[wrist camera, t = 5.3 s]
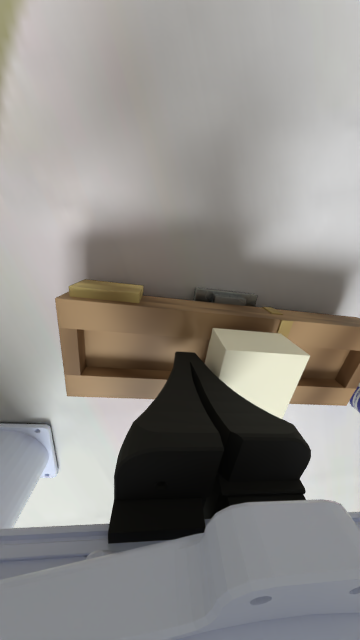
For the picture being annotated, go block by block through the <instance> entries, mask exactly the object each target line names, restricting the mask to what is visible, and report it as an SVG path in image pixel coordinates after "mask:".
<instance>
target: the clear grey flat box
mask: <svg viewBox="0 0 360 640" xmlns="http://www.w3.org/2000/svg"><path fill="white" fill-rule="evenodd" d="M257 297H258V296H257V295H255V294H250V293H241V292H232V291H223V290H214V289H205V288H195V294H194V300H193V301H201V302H211V303H221V304H231V305H241V306H250V307H255V304H256V300H257Z"/></svg>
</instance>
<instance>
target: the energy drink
mask: <svg viewBox="0 0 360 640" xmlns="http://www.w3.org/2000/svg"><path fill="white" fill-rule="evenodd" d="M349 401H350V404H351V405H352V407H354V408H355V409H356V410H357V411H358V412H360V383H359V385H358V387H357V388H356V390H355V392H354V393H353V395H352V397H351V398H350V400H349Z"/></svg>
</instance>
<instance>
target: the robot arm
mask: <svg viewBox="0 0 360 640" xmlns="http://www.w3.org/2000/svg"><path fill="white" fill-rule="evenodd" d="M310 458H311V450H310V448H309V446H308V444H307V443H306V441H305V440H304V439H303V437H302V436H301V434H300V433H299V432H298V430H297V429H296V428H295V426H294V425H293V424H291V423H289V422H287V421H285V420H283V419H281V418H278V417H276V416H274V415H272V414H270V413H268V412H267V411H265V410H263V409H261V408H259V407H258V406H256V405H254V404H253V403H251V402H249V401H248V400H246V399H245V398H243V397H242V396H240V395H239V394H238V393H236V392H235V391H233V390H232V389H231V388H230V387H228V386H227V385H226V384H225V383H224V382H222V381H221V380H220V379H219V378H218V377H217V376H216V375H215V374H214V373H213V372H212V371H211V370H210V369H209V368H208V367H207V366H206V365H205V364H204V362H203V361H202V360H201V359H200V358H199V357H198V356H197V354H196V353H194V352H179V351H177V352H176V353H175V358H174V365H173V369H172V371H171V373H170V376H169V378H168V380H167V382H166V384H165V385H164V387H163V389H162V390H161V392H160V393H159V394H158V396H157V397H156V399H155V400H154V401H153V402H152V403H151V405H150V406H149V407H148V408H147V409H146V410H145V411H144V412H143V413H142V414H141V415H140V416H139V417H138V418H137V419H136V420H135V421H134V422H133V424H132V426H131V428H130V429H129V431H128V433H127V435H126V438H125V440H124V442H123V444H122V447H121V449H120V452H119V455H118V459H117V464H116V469H115V475H114V504H113V509H112V514H111V519H110V524H94V525H73V526H52V527H31V528H13V527H14V525H15V523H16V521H17V519H18V518H19V516H20V514H21V512H22V510H23V508H24V506H25V504H26V503H27V501H28V499H29V497H30V495H31V493H32V491H33V490H34V488H35V486H36V484H37V482H38V480H39V478H53V477H56V476H57V474H58V467H57V462H56V456H55V451H54V445H53V439H52V434H51V428H50V426H49V425H46V424H0V640H360V512H347V511H346V510H345V508H344V507H343V506H342V505H341V504H339V503H337V502H335V501H329V500H306V499H305V497H304V495H303V494H305V488H304V486H303V484H302V483H301V481H300V477H301V475H302V474H303V472H304V470H305V469H306V467H307V465H308V463H309V461H310Z"/></svg>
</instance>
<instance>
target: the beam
mask: <svg viewBox="0 0 360 640" xmlns="http://www.w3.org/2000/svg"><path fill="white" fill-rule="evenodd" d="M55 302H56V310H57V318H58V326H59V334H60V342H61V351H62V359H63V367H64V375H65V383H66V391H67V396H78V397H107V398H137V399H156V397H157V396H158V394H159V393H160V392H161V390H162V389H163V387H164V385H165V384H166V382H167V380H168V378H169V376H170V373H171V371H172V369H173V365H174V358H175V353H176V352H177V351H179V352H194V353H196V354H197V356H198V357H199V358H200V359H201V360H202V361H203V362H204V364H205V360H206V355H207V350H208V346H209V341H210V339H211V334H212V329H213V328H220V329H232V330H243V331H255V332H267V333H279V334H282V335H283V336H285V337H286V338H287V339H289V340H290V341H291V342H293V343H294V344H295V345H297V346H298V347H299V348H301V349H302V350H303V351H305V352H306V353H307V354H309V355H310V358H309V360H308V362H307V364H306V366H305V369H304V371H303V373H302V375H301V378H300V380H299V382H298V384H297V387H296V389H295V391H294V393H293V396H292V398H291V400H290V402H289V404H313V405H343V406H346V405H347V403H348V402H349V400H350V398H351V397H352V395H353V393H354V392H355V390H356V388H357V387H358V385H359V383H360V318H357V317H348V316H338V315H329V314H319V313H309V312H299V311H290V310H280V309H274V308H271V307H262V308H260V307H250V306H241V305H231V304H221V303H211V302H201V301H192V300H182V299H172V298H162V297H152V296H143V286H142V285H133V284H123V283H114V282H105V281H96V280H87V279H85V280H83V281H80V282H78V283H76V284H73V285H71V286H69V292H67V293H65V294H63V295H61V296H59V297H57V298H55Z"/></svg>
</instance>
